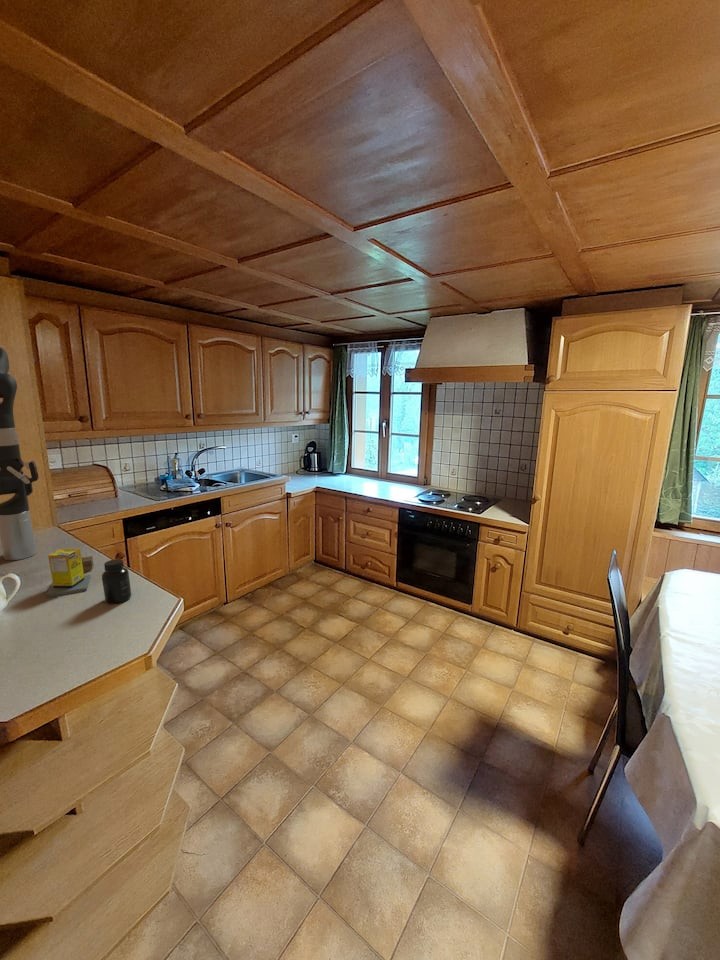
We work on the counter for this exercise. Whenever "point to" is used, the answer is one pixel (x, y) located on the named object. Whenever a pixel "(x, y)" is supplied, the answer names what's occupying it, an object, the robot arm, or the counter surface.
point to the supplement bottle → (116, 582)
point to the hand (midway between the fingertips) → (10, 496)
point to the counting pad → (61, 591)
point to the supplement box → (66, 568)
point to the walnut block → (87, 563)
